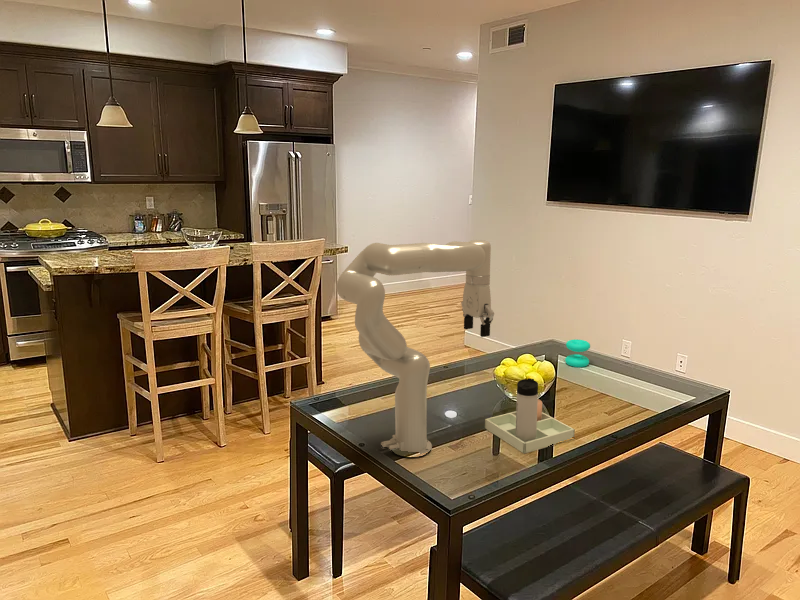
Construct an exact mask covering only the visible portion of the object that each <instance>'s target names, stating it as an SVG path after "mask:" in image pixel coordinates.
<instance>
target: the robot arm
mask: <svg viewBox="0 0 800 600" xmlns="http://www.w3.org/2000/svg"><path fill="white" fill-rule="evenodd" d="M491 251H492V248H491V243H490V242H489V241H487V240H482V239H480V240H479V239H478V240H477V239H475V240H474V239H473V240H470V241H455V240H454V241H450V242H448V243H446V244H445V245H444V244H437V243H431V242H430V243H428V242H417V243H403V244H402V243H401V244H386V243H381V242H373V243H370V244H369V245H367V246H366V247H365V248H364V249H363V250H362V251H360V253H359V254H358V255H356V257H355V258H354V259H353V260H352V261H351V262H350V264H349V265H348V266H347V267H346V268H345V269H344V271H343V272H342V273H341V274H340V275H339V277H338V278H337V281H336V285H335V286H336V293H337V295H338V296H339V297H340V298H341V299H342V300H344V301H345V302H348V303H352V304H354V305H356V308H355V315H354V325H355V329H356V330H357V332H358V333H359V334H358V344H359V347H360V348H361V350H362V351H363V352H364V353H365V354H366V355H367V356H368V357H369V358H370V359H371V360H372V361H373V362H374V363H375V364H376V365H377V366H378V368H380V369H381V370H383V372H386V374H387V373H388V374H389V375H391V376H394V377H395V378H398V384H397V386H396V388H395V390H394V391H395V393H394V412H395V413H394V419H395V420H394V421H395V423H394V424H395V430H394V431H395V434H392V438H390V439H389V440H384V441H380V446H381V445H382V446H383V447H387V448H388V450H389V449H390V450H389V451H391V450H392V449H396V448H397V449H399V450H401V451H408V452H419V453H420V454H422V453H426V452H429V451H430V450H431V449H433V448H432V447H433V444H432V443H431V441H429V439H428V438H427V427H428V425H427V423H428V421H427V420H428V419H427V418H428V417H427V416H428V415H427V413H428V412H427V411H428V410H427V407H428V406H427V400H428V399H427V398H428V397H427V396H428V395H427V394H428V393H427V392H428V391H427V389H428V382H429V381H428V380H429V376H430V371H431V364H430V360H429V359H428V357H427V356H426V355H425V354H424V353H422V352H421V351H419V350H417V349H414V348H411V347H408V345H407V342H406V338H405V337H404V336H403V334H402V333H401V332H400V331H399V329H398V328H397V327H395V325H393V324H392V322H391V321H390V320H389V319H388V317H386V316H385V314H384V302H385V300H386V299H385V298H386V290H385V285H384V284H383V283H382V281H381V280H379V279H378V278H376V277H374V276H376V274H377V273H378V274H381V275H386V276H400V275H410V274H420V273H421V274H422V273H447V272H448V273H452V272H453V273H456V272H460V273H461V272H465V283H464V287H463V293H462V294H463V295H462V301H461V303H460V304H461V310H462V313H463V314H462V317H463V329H464V330H472V329H474V318H475V319H477V318H478V319H480V321H481V324H480V337H481V338H485V337H490V336H491V324H492V322H493V320H494V315H495V312H494V310H493V309H492V302H491V301H492V299H491V298H492V297H491V295H492V294H491V288H490V286H491V285H490V283H491V256H492V255H491ZM431 451H432V450H431Z"/></svg>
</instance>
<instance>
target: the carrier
mask: <svg viewBox="0 0 800 600" xmlns="http://www.w3.org/2000/svg"><path fill="white" fill-rule="evenodd" d="M484 429H485V430H487V431H488V432H490V433H491V434H493V435H495V436H496V437H497V438H499V439H500V440H502V441H504V442H505V443H507V444H508V445H510V447H511V446H512V447H513V448H515V449H516V450H518V451H519V452H521V453H522V454H528V453H532V452H534V451H538V450H541V449H545V448H549V447H551V446H550V445H552V444H555V445H557V444H556V443H558V442H560V441H564V440H567V439H570V438H572V437H574V438H575V428H573V427H572V426H570V425H567V424H565V423H563V422H562V421H560V420H558V419H556V418H554V417H552V416H550V415H549V414H548V413H545V412H543V411H542V420H540V421H537V430H536V439H535V440H532V441H528V442H523V441H522V440H520V439H519V438H517V437H515V436H516V410H515V411H512V412H507V413H505V414H500V415H496V416H493V417H488V418H485V419H484ZM548 446H549V447H548ZM552 446H553V445H552Z"/></svg>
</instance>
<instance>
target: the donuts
mask: <svg viewBox="0 0 800 600" xmlns="http://www.w3.org/2000/svg"><path fill="white" fill-rule="evenodd" d="M565 346H566V348H567V349H568V350H569V351H571V352H574V354H569V355H567V356H566V357H565V358H564V361H565V363H566V365H568V366H570V367H574V368H583V367H587V366H588V365H589V364H590V359H589V358H588V357H587V356H585V355H583V354H578V353H580V352H581V353H584V352H586V351H589V350H590V348H591V344H590V342H589V341H587V340H584V339H576V338H575V339H569V340H567V342H566V343H565ZM575 352H576V353H575Z"/></svg>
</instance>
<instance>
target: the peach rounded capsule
mask: <svg viewBox="0 0 800 600" xmlns="http://www.w3.org/2000/svg"><path fill="white" fill-rule="evenodd" d="M542 412H543V401H542V400H541V399H539V398H538V405H537V421H540V420H542Z"/></svg>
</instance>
